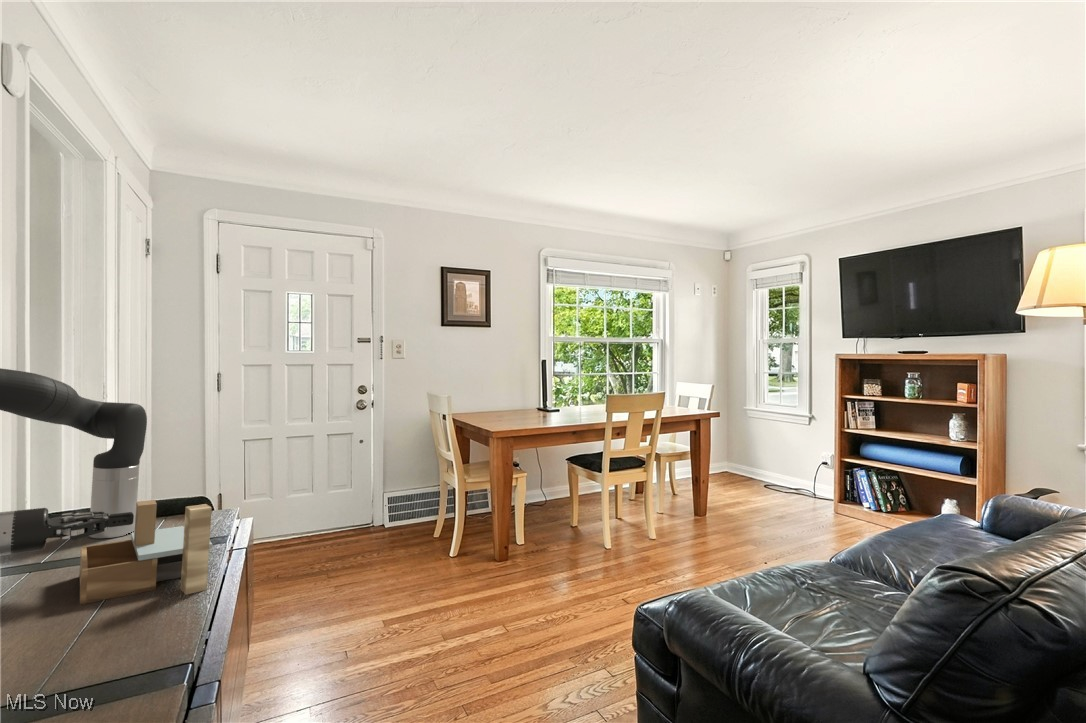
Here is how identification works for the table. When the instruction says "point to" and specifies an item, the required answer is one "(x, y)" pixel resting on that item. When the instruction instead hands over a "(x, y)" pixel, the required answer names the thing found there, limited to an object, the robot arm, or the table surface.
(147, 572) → the wooden box
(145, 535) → the lid
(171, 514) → the table surface
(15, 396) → the robot arm
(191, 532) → the wooden block
